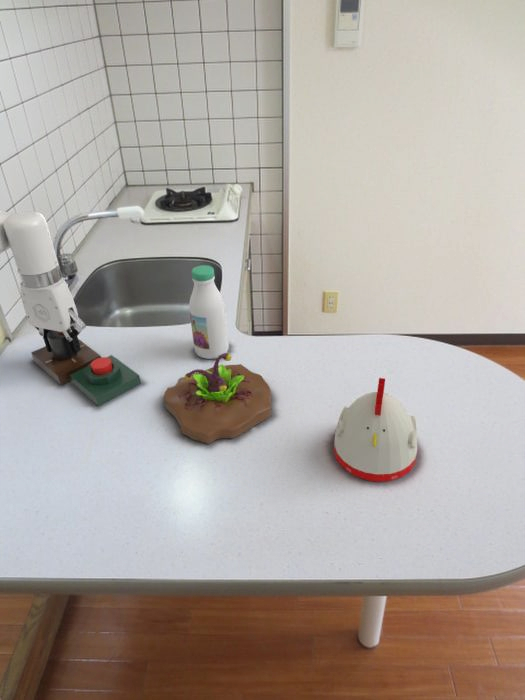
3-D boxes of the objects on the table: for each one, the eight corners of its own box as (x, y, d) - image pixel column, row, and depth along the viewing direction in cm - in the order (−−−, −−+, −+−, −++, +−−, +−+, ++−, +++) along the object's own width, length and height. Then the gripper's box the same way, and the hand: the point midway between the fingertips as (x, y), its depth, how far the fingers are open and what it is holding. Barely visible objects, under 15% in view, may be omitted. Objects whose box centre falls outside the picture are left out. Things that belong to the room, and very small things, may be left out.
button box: (72, 383, 110) (67, 368, 108) (113, 362, 116) (109, 347, 114) (98, 406, 104) (93, 390, 101) (141, 383, 109) (137, 368, 107)
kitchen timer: (327, 473, 87) (330, 403, 78) (340, 418, 98) (343, 352, 89) (414, 488, 83) (426, 416, 75) (417, 429, 94) (428, 361, 86)
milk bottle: (224, 338, 122) (216, 258, 111) (233, 355, 116) (225, 273, 105) (192, 344, 121) (180, 265, 109) (199, 363, 114) (187, 280, 103)
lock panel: (34, 361, 118) (30, 351, 116) (74, 343, 123) (72, 333, 122) (60, 385, 110) (57, 375, 108) (103, 365, 115) (100, 355, 114)
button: (89, 370, 108) (87, 363, 107) (106, 361, 110) (104, 354, 109) (99, 378, 105) (97, 371, 104) (116, 369, 108) (114, 362, 107)
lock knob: (48, 357, 114) (41, 335, 111) (64, 345, 118) (57, 323, 115) (66, 362, 112) (59, 339, 109) (81, 349, 116) (75, 327, 113)
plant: (290, 415, 99) (289, 367, 93) (195, 455, 91) (187, 406, 85) (242, 363, 114) (238, 319, 107) (156, 393, 106) (147, 348, 100)
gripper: (-6, 278, 104) (21, 353, 115) (63, 289, 99) (86, 367, 109) (20, 263, 110) (44, 336, 120) (88, 272, 105) (107, 348, 115)
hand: (64, 350), depth 115 cm, fingers closed on lock knob, 5 cm apart
